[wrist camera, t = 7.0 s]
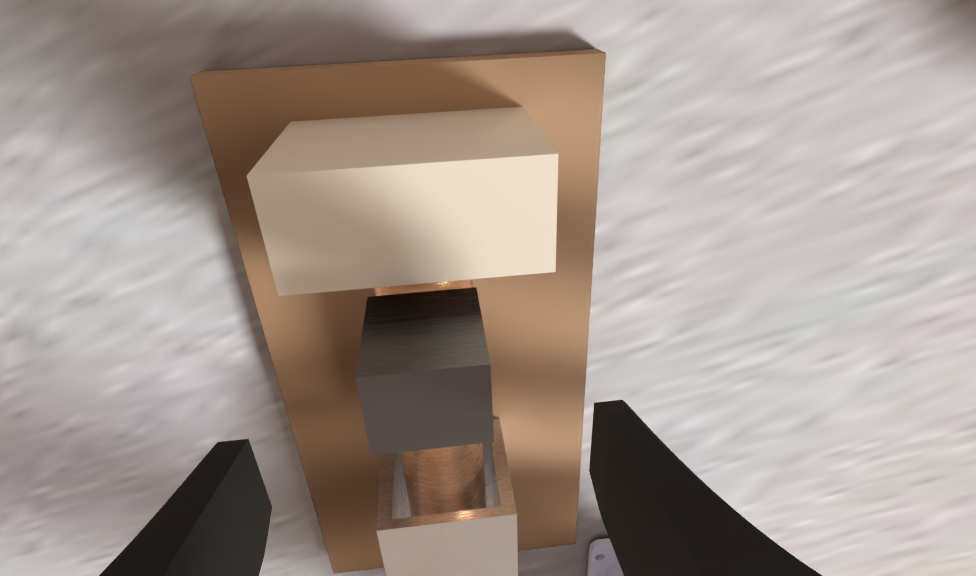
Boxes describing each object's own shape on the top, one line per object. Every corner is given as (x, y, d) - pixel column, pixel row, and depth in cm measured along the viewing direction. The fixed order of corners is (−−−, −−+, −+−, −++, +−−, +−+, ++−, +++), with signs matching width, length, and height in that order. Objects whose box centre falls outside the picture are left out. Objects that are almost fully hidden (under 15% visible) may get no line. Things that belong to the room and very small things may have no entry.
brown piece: (482, 472, 24) (502, 630, 18) (410, 480, 23) (408, 643, 18) (462, 156, 17) (485, 252, 11) (361, 163, 17) (332, 264, 11)
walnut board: (570, 526, 29) (575, 543, 28) (336, 555, 28) (333, 573, 27) (596, 48, 18) (605, 52, 17) (201, 71, 17) (189, 76, 16)
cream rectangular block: (523, 201, 19) (555, 272, 14) (311, 218, 18) (278, 296, 14) (523, 106, 17) (558, 153, 13) (290, 121, 17) (246, 175, 12)
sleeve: (504, 539, 27) (519, 641, 23) (405, 551, 27) (403, 657, 23) (499, 417, 23) (516, 514, 19) (383, 429, 23) (376, 531, 19)
